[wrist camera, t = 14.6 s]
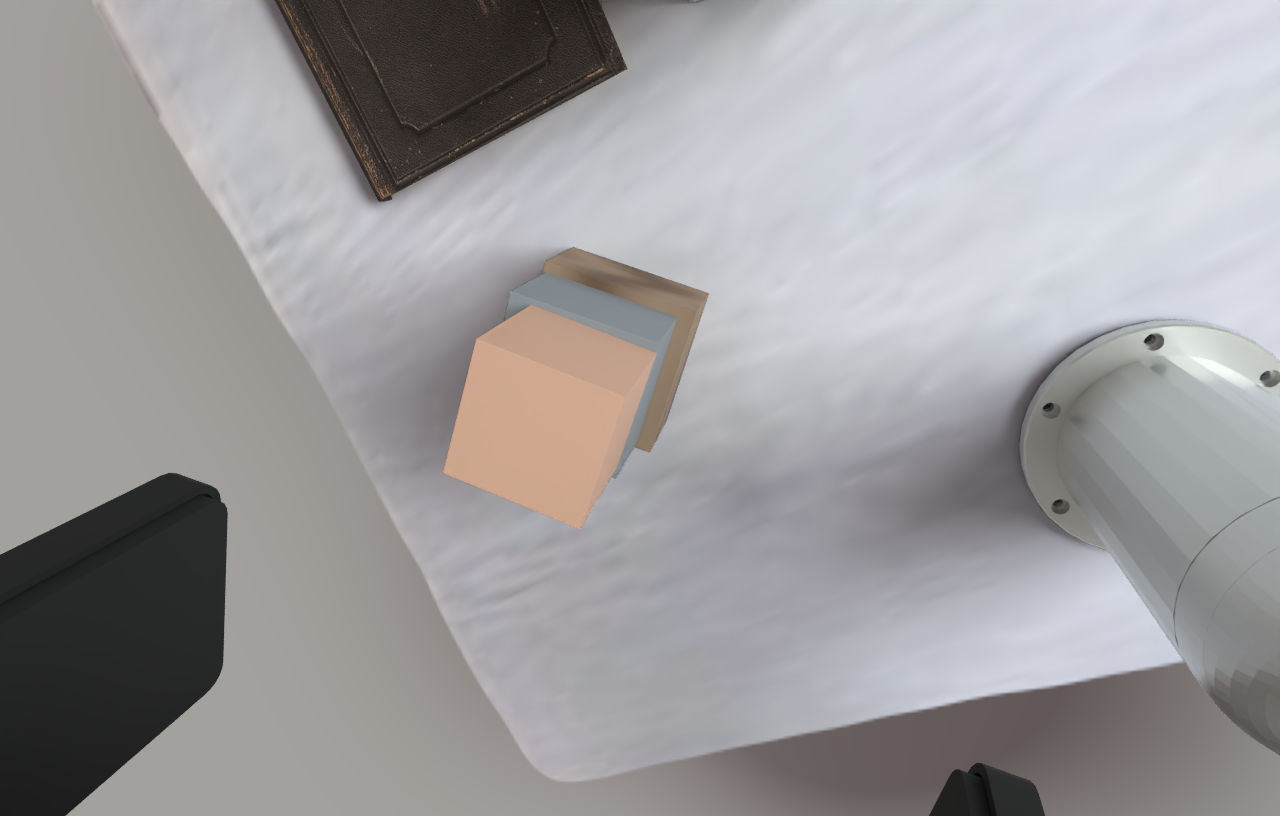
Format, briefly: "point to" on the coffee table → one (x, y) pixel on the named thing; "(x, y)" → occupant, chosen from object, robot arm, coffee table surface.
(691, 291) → the tower bottom
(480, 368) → the terracotta cube
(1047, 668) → the coffee table surface
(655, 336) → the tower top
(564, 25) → the hardcover book
